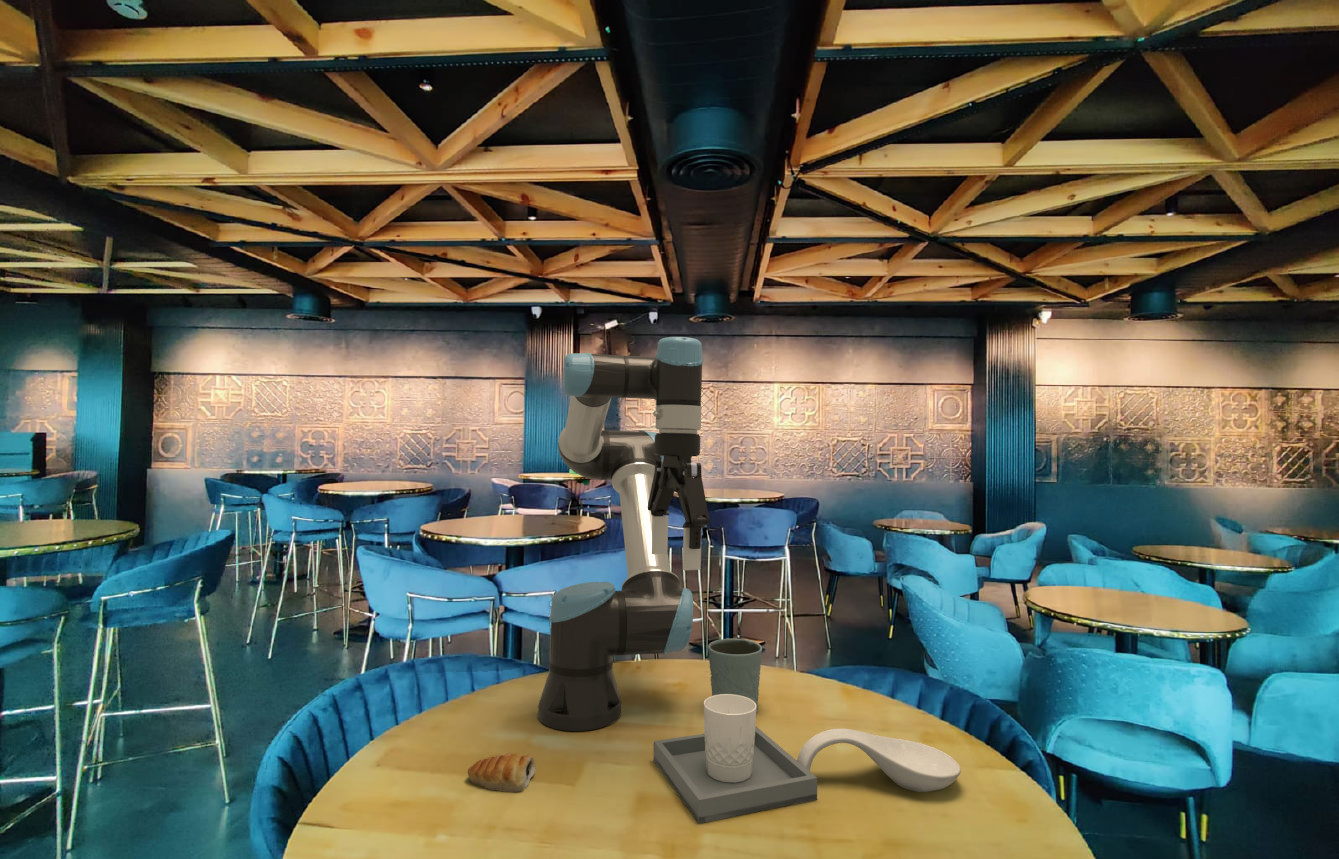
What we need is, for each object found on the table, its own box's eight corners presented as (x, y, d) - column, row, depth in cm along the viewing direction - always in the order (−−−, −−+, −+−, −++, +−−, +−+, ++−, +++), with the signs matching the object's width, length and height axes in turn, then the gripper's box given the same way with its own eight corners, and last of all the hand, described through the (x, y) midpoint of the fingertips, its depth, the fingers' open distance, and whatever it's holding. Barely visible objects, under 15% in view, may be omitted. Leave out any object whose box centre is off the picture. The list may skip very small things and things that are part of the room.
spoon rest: (938, 763, 100) (938, 717, 101) (976, 804, 89) (976, 752, 89) (790, 763, 100) (790, 716, 100) (808, 804, 88) (809, 751, 88)
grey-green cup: (769, 707, 121) (770, 643, 122) (748, 726, 113) (748, 657, 113) (721, 696, 126) (722, 635, 127) (697, 713, 118) (698, 648, 118)
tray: (653, 760, 99) (653, 741, 99) (755, 744, 105) (755, 726, 105) (698, 823, 82) (699, 800, 82) (817, 799, 88) (817, 778, 89)
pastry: (459, 791, 89) (460, 764, 90) (477, 768, 96) (478, 743, 96) (524, 795, 89) (525, 767, 89) (538, 772, 95) (539, 746, 96)
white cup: (754, 761, 98) (755, 695, 98) (756, 787, 90) (757, 716, 90) (703, 758, 99) (704, 692, 99) (701, 783, 91) (702, 712, 91)
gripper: (631, 431, 114) (628, 549, 114) (687, 431, 91) (684, 578, 91) (669, 432, 117) (667, 547, 117) (733, 432, 94) (730, 575, 94)
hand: (674, 561), depth 104 cm, fingers open, 13 cm apart
